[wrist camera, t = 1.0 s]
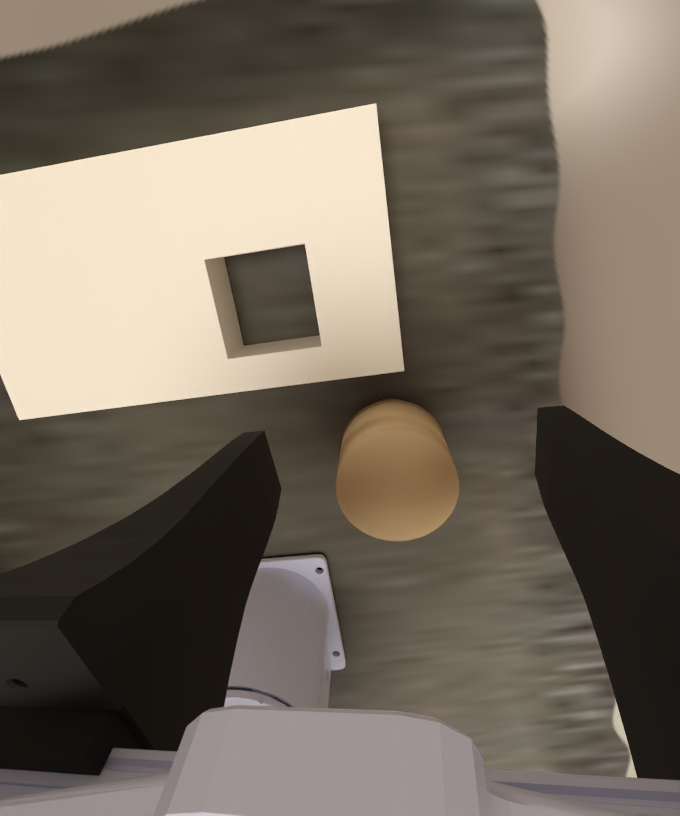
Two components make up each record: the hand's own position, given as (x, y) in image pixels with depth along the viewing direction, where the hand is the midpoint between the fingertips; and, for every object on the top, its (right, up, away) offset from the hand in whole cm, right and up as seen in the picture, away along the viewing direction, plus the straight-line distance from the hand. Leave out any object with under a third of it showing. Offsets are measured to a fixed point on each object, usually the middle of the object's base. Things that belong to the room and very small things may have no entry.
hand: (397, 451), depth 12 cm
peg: (+1, 0, +14) cm, 14 cm away
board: (-9, +8, +12) cm, 17 cm away
